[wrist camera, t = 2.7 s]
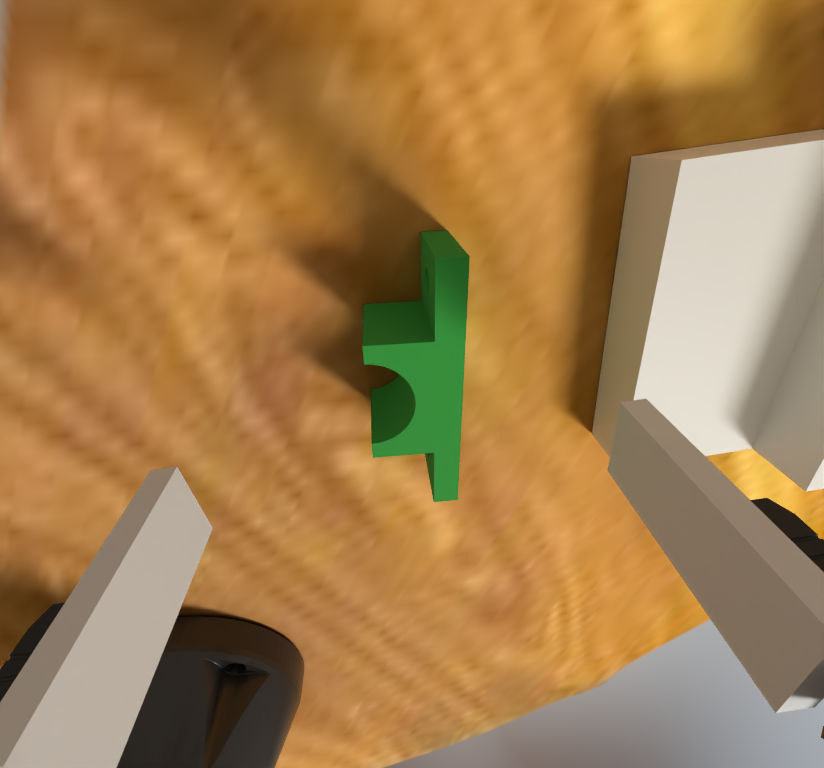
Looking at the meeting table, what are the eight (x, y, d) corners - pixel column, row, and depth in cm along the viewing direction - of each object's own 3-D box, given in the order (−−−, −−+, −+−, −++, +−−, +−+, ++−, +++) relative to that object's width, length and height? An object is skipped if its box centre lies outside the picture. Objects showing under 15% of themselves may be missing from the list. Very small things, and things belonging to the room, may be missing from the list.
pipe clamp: (356, 232, 17) (353, 259, 13) (446, 229, 17) (470, 254, 13) (375, 445, 23) (377, 509, 19) (442, 440, 23) (458, 502, 19)
